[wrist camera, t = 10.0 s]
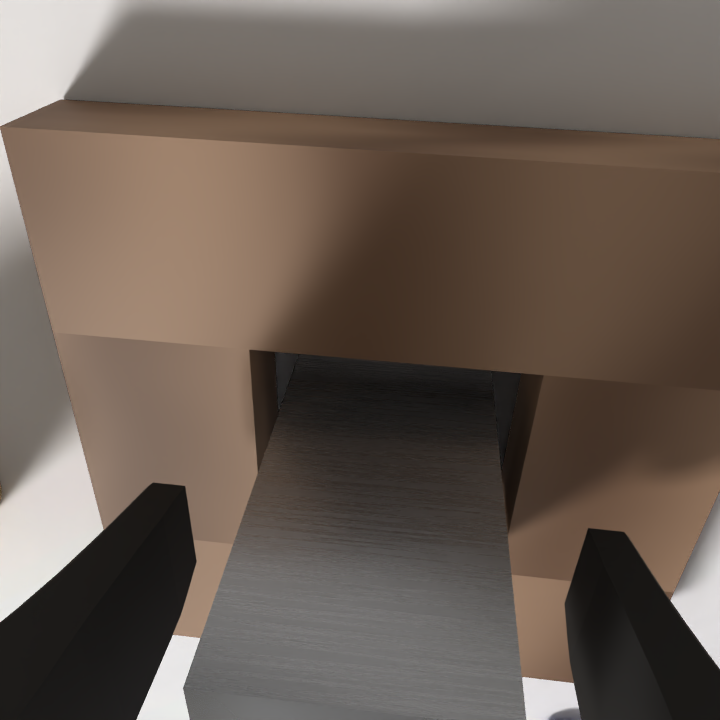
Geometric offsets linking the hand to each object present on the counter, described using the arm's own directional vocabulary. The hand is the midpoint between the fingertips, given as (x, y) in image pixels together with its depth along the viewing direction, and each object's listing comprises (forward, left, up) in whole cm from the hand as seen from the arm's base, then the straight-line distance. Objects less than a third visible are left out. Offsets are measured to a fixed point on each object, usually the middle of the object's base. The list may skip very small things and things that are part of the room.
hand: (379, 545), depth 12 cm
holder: (0, 0, -4) cm, 4 cm away
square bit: (0, 0, -4) cm, 4 cm away
